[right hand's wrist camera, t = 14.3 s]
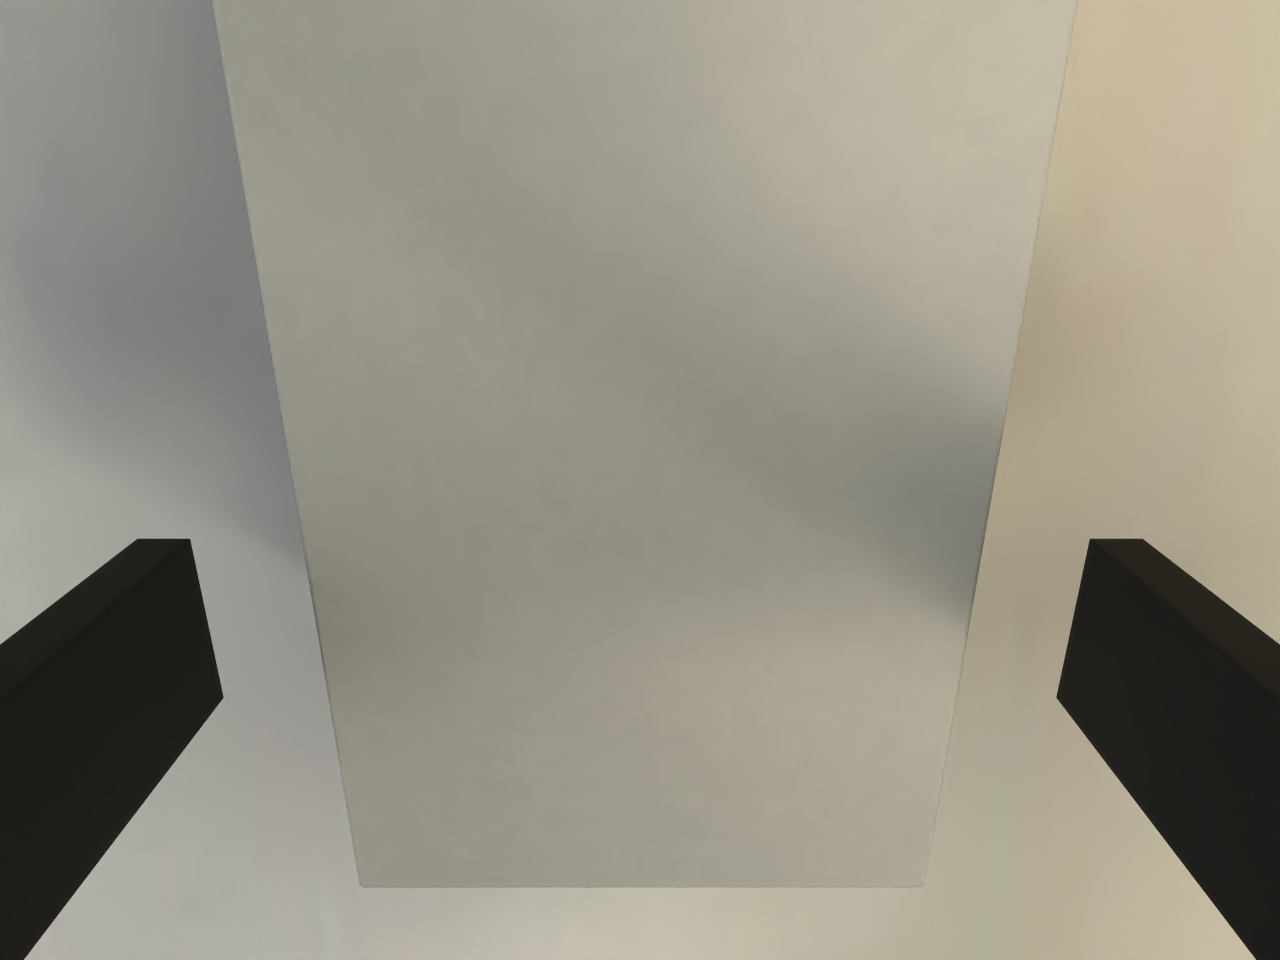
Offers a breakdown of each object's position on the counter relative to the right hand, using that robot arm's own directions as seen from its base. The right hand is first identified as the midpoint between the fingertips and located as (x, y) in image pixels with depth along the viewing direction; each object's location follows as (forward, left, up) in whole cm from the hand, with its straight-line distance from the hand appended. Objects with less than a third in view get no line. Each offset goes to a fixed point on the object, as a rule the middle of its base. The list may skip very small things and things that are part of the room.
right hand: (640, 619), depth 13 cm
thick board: (+19, -21, -7) cm, 29 cm away
